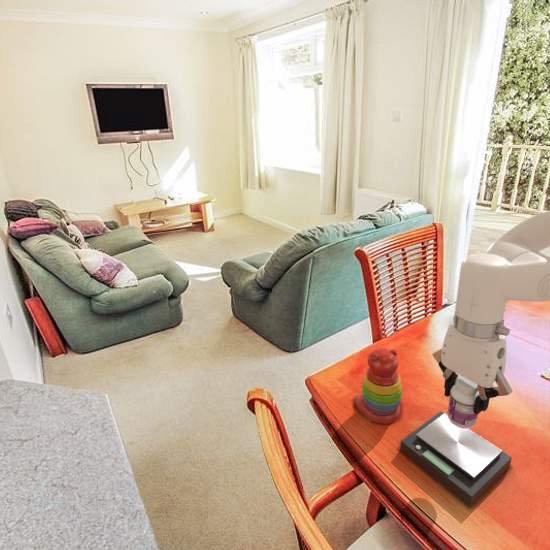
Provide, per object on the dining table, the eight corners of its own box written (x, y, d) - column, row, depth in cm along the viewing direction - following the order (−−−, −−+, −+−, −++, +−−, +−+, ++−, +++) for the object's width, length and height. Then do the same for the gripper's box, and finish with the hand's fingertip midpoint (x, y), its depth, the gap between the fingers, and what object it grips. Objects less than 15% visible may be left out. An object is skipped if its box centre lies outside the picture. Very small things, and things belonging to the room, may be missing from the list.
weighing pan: (502, 453, 76) (502, 450, 75) (473, 480, 71) (474, 477, 71) (444, 415, 86) (444, 412, 85) (415, 437, 81) (416, 434, 81)
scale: (509, 467, 76) (512, 456, 75) (469, 507, 70) (472, 495, 68) (439, 420, 89) (440, 410, 87) (400, 450, 82) (400, 439, 81)
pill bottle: (447, 407, 79) (452, 370, 75) (476, 414, 76) (482, 376, 73) (446, 425, 74) (451, 387, 71) (476, 433, 72) (483, 394, 68)
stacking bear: (391, 391, 99) (394, 335, 92) (410, 420, 90) (416, 359, 82) (352, 399, 97) (352, 342, 90) (368, 429, 88) (369, 368, 81)
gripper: (540, 335, 61) (520, 418, 69) (446, 299, 75) (437, 372, 82) (517, 353, 58) (498, 439, 65) (422, 311, 71) (415, 386, 78)
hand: (464, 401), depth 73 cm, fingers closed on pill bottle, 5 cm apart
